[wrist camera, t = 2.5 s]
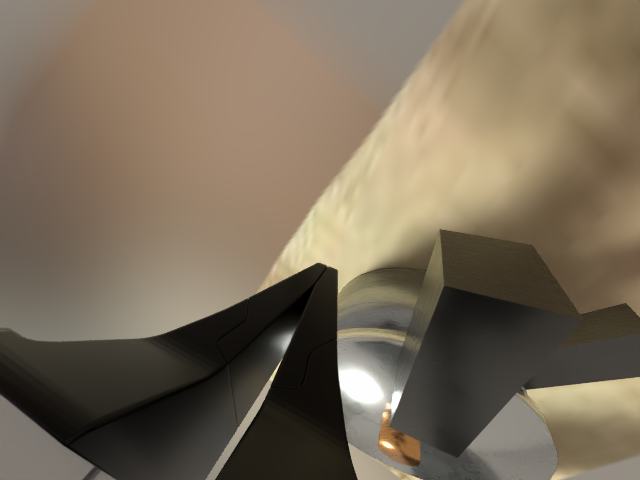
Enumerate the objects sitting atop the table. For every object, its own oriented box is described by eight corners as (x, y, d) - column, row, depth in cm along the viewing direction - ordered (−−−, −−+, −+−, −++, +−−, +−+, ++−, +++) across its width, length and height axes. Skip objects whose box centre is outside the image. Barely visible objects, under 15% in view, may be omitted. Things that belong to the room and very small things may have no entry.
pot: (398, 392, 26) (391, 459, 21) (308, 306, 24) (278, 357, 19) (663, 352, 14) (785, 485, 9) (516, 180, 12) (570, 232, 8)
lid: (486, 496, 17) (498, 585, 14) (305, 410, 22) (284, 462, 19) (805, 275, 6) (1225, 475, 3) (294, 194, 11) (236, 235, 7)
